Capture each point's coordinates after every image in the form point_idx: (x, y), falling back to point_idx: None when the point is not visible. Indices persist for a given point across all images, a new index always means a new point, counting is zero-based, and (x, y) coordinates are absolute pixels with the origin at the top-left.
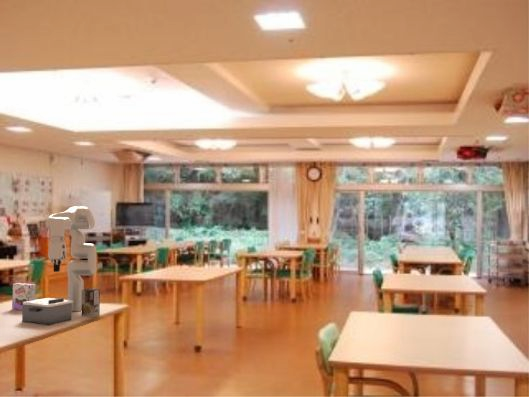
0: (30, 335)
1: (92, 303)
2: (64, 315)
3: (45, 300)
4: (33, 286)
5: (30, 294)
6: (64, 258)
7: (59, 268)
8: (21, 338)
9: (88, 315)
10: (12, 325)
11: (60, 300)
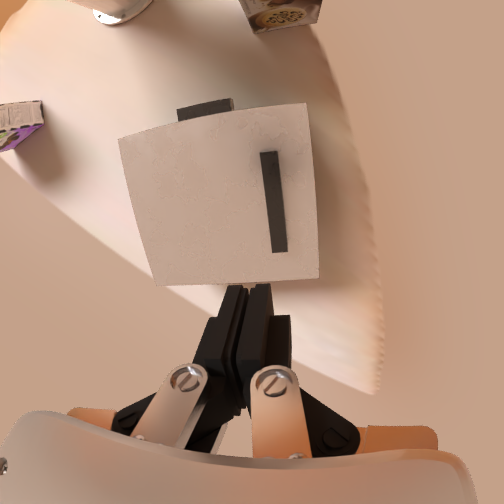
0: (365, 342)
1: (314, 1)
2: None
3: (183, 198)
4: None
5: (4, 124)
6: (392, 462)
7: (289, 328)
8: (367, 364)
9: (290, 25)
10: (209, 293)
11: (280, 174)
